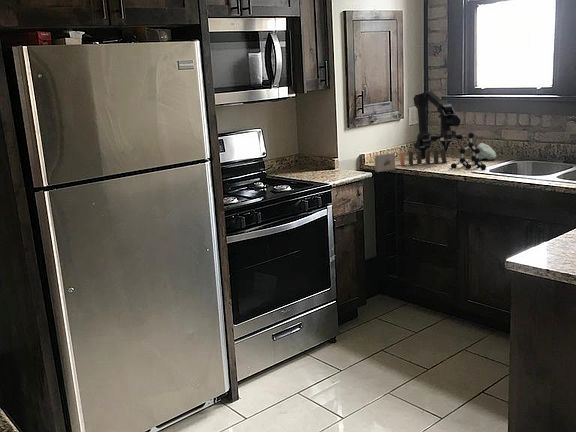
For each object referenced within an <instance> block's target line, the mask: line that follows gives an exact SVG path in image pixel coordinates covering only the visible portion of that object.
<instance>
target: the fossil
mask: <svg viewBox="0 0 576 432" xmlns="http://www.w3.org/2000/svg"><path fill="white" fill-rule="evenodd" d="M395 158H396V156H395V153H394V152H390V153H383V154H375V157H374V172H375V173H380V172H388V171H395V170H396V159H395Z"/></svg>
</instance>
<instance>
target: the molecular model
mask: <svg viewBox="0 0 576 432" xmlns="http://www.w3.org/2000/svg"><path fill="white" fill-rule="evenodd" d="M467 136H468V138H469V141H470V142H469V143H468V146H466V147H462V148H460V149H459V153H460V154H461V157H460V158H459V161H458V162H456V163H455V162H452V163H451V165H450V168H451V169H452V168H455V169H457V167H458V165H460V164H462V167H464V168H465V169H466V170H470V169H472V166H473V165H476V167H477V168H480V170H482V171H484V170H486V169H487V165H486V164H485V163H483V161H481V160H480V159H479V158H478V154H479V153H480V149H479V148H477V146H475V143H474V142H473V139H474V137H475V133H474V132H469V133H468V135H467ZM467 149H470V150H471V152H472V156H471V157H470V159H469V160H468V161H467V160H466V158H465V157H464V155H465V153H466V151H467ZM471 162H472V163H471Z"/></svg>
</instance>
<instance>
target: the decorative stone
mask: <svg viewBox="0 0 576 432" xmlns="http://www.w3.org/2000/svg"><path fill="white" fill-rule="evenodd" d="M476 147H477V148H479V149H480V153H479V154H478V158H479V159H480V161H481V160H488V161H493V160H494V159H495V158H497V153H496V151H495V150H494V149H493V148H492V147H491V146H490V145H488V144H486V143H484V142H480V143H479V144H478V145H477V146H476Z"/></svg>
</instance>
